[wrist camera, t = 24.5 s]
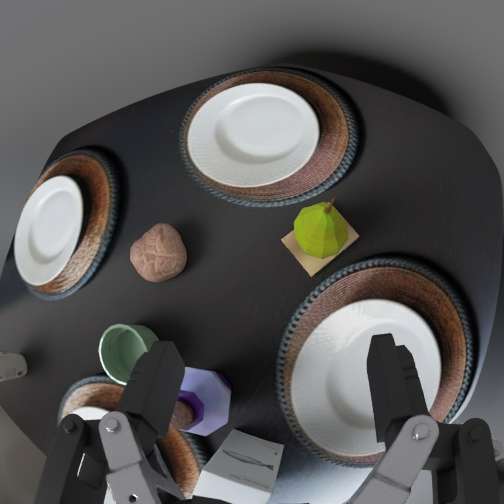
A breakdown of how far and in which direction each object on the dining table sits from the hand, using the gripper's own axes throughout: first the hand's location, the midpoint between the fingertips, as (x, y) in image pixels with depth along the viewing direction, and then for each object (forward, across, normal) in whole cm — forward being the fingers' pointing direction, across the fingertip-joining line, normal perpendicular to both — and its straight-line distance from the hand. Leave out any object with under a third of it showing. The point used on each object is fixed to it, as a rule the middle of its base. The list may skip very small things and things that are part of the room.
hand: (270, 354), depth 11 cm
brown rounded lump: (+25, +18, +10) cm, 32 cm away
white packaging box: (+5, +6, +30) cm, 31 cm away
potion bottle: (+12, +11, +23) cm, 28 cm away
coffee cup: (+10, +54, +25) cm, 61 cm away
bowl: (+15, +22, +20) cm, 33 cm away
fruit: (+25, -4, +9) cm, 27 cm away
